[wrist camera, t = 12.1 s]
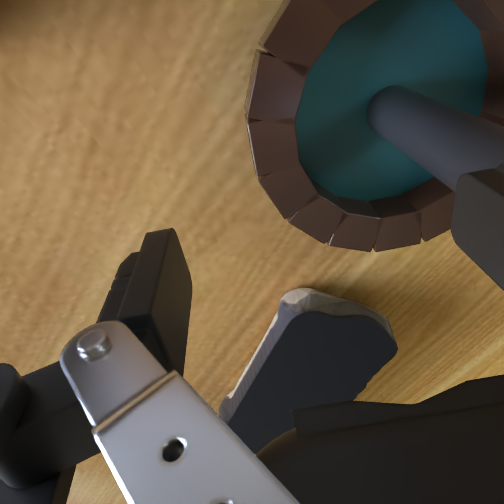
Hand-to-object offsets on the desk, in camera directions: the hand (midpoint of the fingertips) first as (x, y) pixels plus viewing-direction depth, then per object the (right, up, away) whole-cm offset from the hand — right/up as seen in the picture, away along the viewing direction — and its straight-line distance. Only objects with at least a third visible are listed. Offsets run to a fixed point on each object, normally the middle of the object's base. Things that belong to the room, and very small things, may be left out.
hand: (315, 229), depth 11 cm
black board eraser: (+2, -10, +20) cm, 22 cm away
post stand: (+5, +7, +9) cm, 13 cm away
